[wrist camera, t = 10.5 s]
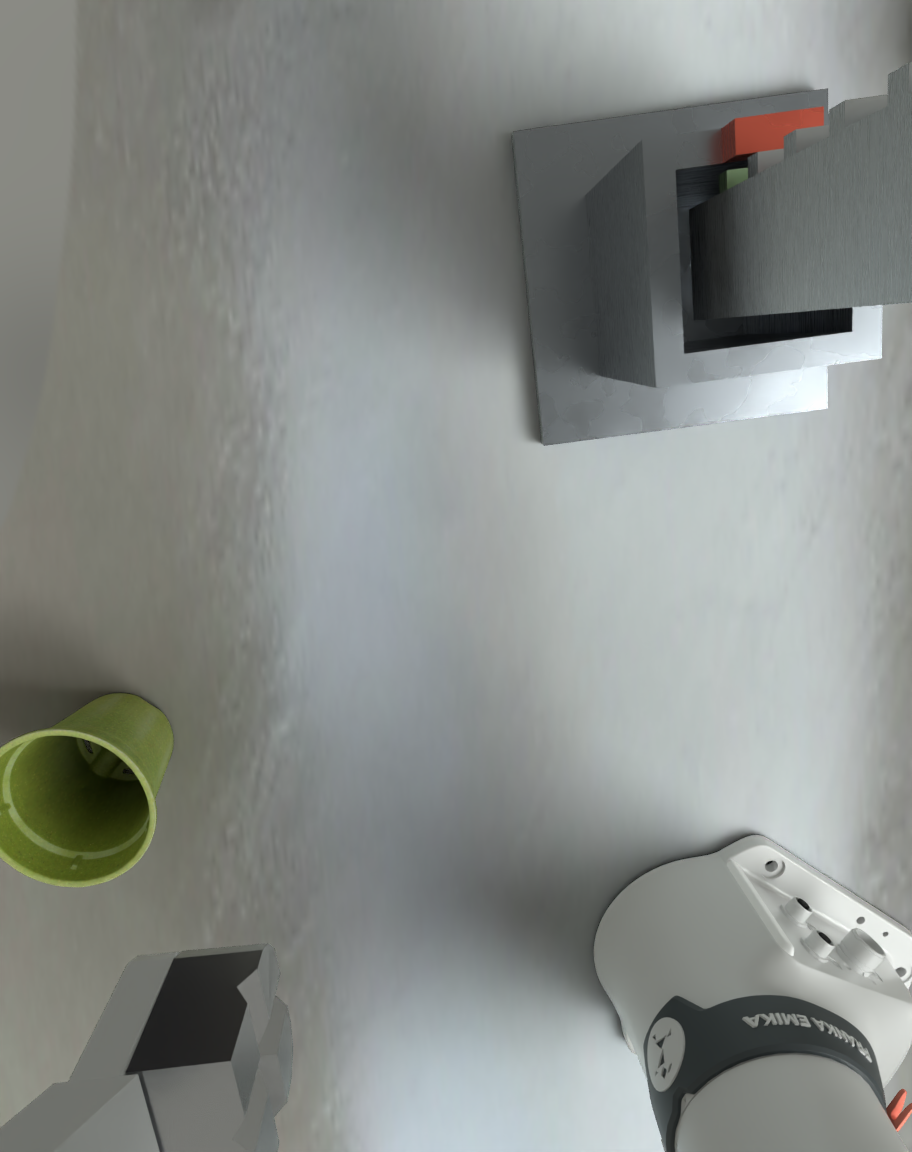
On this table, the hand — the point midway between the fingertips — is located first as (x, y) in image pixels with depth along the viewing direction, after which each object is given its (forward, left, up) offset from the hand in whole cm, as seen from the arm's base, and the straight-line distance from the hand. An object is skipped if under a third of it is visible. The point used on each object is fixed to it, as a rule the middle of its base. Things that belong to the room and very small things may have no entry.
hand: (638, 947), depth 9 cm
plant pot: (+13, +25, -39) cm, 48 cm away
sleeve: (-6, -13, -39) cm, 42 cm away
